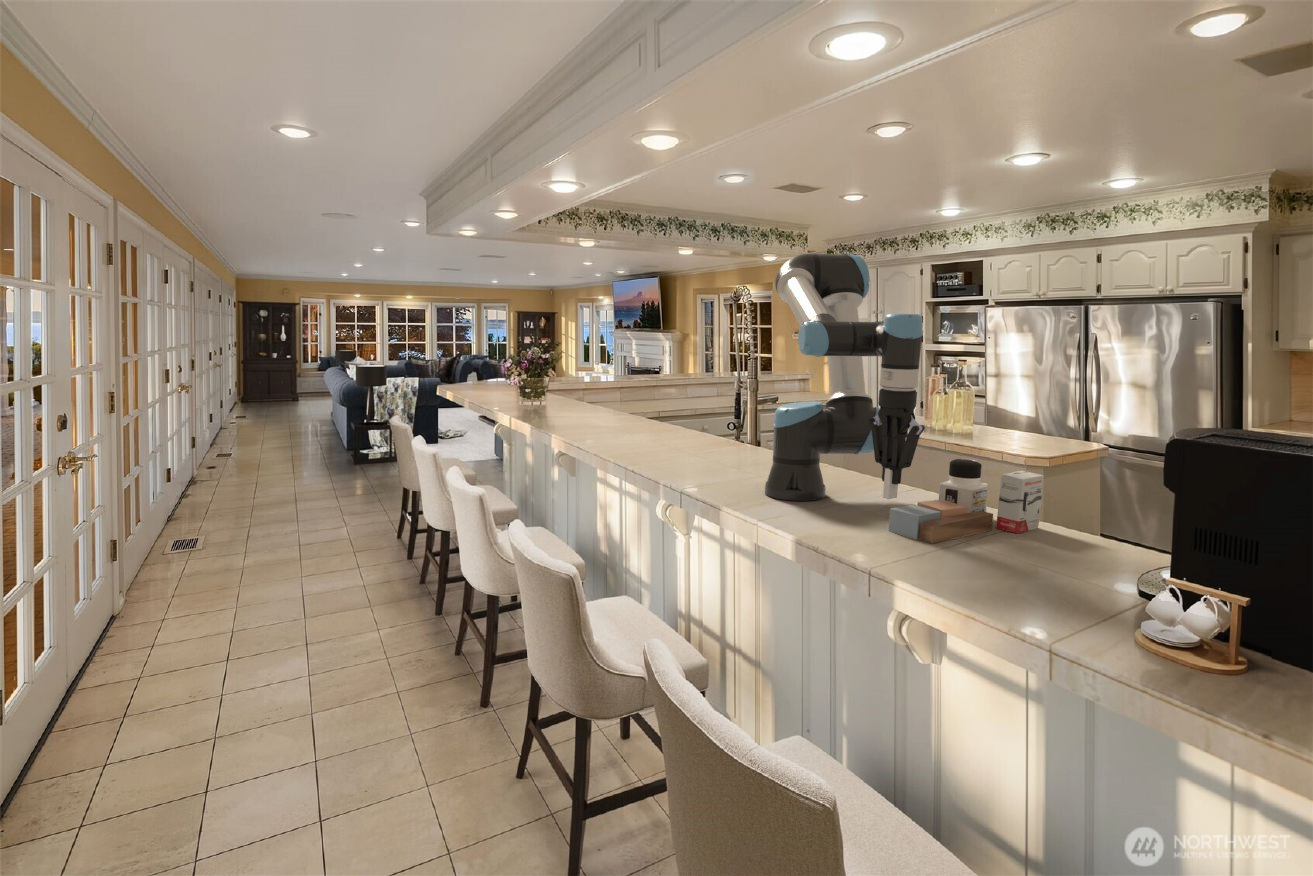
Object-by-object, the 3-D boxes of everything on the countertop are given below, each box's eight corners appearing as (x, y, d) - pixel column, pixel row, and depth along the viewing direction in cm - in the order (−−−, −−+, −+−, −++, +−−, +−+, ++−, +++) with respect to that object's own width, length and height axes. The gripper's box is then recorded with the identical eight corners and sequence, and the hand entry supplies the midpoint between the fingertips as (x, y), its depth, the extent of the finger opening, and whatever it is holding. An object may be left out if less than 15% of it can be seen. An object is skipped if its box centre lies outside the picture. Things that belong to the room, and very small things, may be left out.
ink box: (1017, 534, 146) (1022, 478, 144) (995, 528, 150) (999, 474, 148) (1039, 528, 150) (1045, 473, 148) (1017, 522, 154) (1022, 469, 153)
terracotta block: (916, 524, 153) (917, 502, 152) (940, 521, 155) (942, 499, 155) (940, 533, 146) (942, 510, 146) (965, 530, 149) (967, 507, 148)
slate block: (888, 531, 147) (890, 508, 146) (910, 527, 151) (912, 504, 150) (916, 540, 141) (918, 516, 140) (938, 535, 145) (940, 511, 144)
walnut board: (919, 539, 141) (920, 522, 140) (978, 526, 151) (980, 510, 150) (932, 543, 138) (933, 526, 138) (991, 529, 148) (993, 513, 148)
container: (970, 523, 154) (975, 464, 152) (936, 516, 159) (940, 459, 157) (986, 517, 159) (990, 460, 157) (952, 510, 164) (957, 455, 162)
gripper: (861, 386, 150) (854, 493, 155) (912, 393, 140) (903, 507, 144) (885, 384, 154) (877, 488, 159) (936, 390, 143) (926, 502, 148)
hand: (889, 497), depth 151 cm, fingers closed
